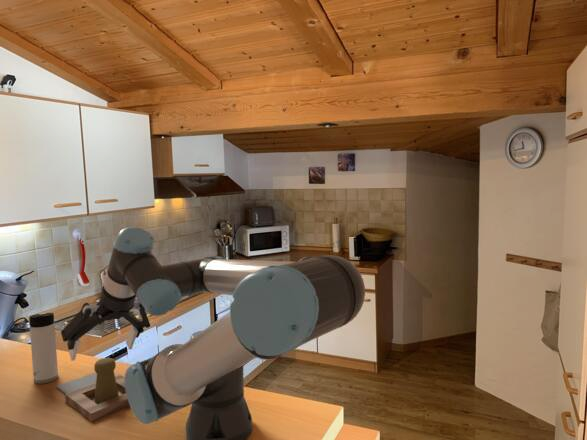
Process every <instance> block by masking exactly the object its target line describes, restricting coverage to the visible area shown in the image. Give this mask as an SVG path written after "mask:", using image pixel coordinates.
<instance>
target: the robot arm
mask: <svg viewBox="0 0 587 440" xmlns="http://www.w3.org/2000/svg"><path fill="white" fill-rule="evenodd" d="M153 249H154V236H153V235H152V234H151V233H150V232H149V231H147V230H146V229H143V228H142V227H141V228H140V227H137V226H136V227H135V226H132V227H125V228H123V229H121V230H120V231H119V233H118V234H117V236H116V239H115V242H114V244H113V248H112V252H111V254H110V255H111V256H110V259H109V264H108V268H107V271H106V274H105V277H104V282H103V285H102V288H101V292H100V295H99V300H98V303H96V304H95V305H94V304H93V305H91V304H90V303H89V302H85V303H83V304H82V306H81V308H80V311H78V313H76V315H75V316H74V317H73V318H72V319H71V320H70V321H69V323H67V325H65V327H64V328H63V329H62V330H60V335H61V338H62V341H63V342H66V345H67V349H68V354H69V356H70V361H75V360H76V357H77V353H78V350H79V346H80V344H81V343H80V342H81V340H80V339H81V338H82V337H83V336H85V335H86V334H87V333H89V332H90V331H92V329H93V328H95V327H96V326H98V325H102V324H103V323H104V322H105V321H107V322H108V321H111V320H120V319H121V318H123V319H125V320H126V321H127V322H129V323H130V324H131V326H130V327H129V330H128V334H127V336H126V339H125V344H126V346H127V349H128V350H132V349H133V347H134V344H135V341H136V339H137V338H139V337H140V334H141V333H142V334H143V333H144V331H145V330H144V328H150V327H151V323H150V320H149V318H148V315H147V313H148V314H150V316H151V315H152V316H155V317H159V316H163V315H166V314H167V313H168V312H169V311H173V310H174V309H175V308H176V307H177V306H178V305H179V303H180V301H181V298H182V299H183V298H184V297H188V296H192V295H197V294H202V293H207V294H208V293H209V294H218V295H225V296H232V298H233V300H232V301H231V303H230V308H229V312H227V313H226V314H224V315H223V316H222V317H220V318H219V319H217V320H216V321H215V322H213V323H212V324H211V325H209V326H207V327H206V328H205V329H203V330H198V331H196V332H193V333H192V334H191V335H190V339H189V340H188V341H187V342H185V343H184V344H183V343H182V344H181V343H175V344H171V345H169V346H166V347H164V348H163V349H162V350H161V351H159V352H158V353H156V354H155V355H154V356H152V357H149V358H148V359H145V360H142V361H137V362H136V363H133V364H131V365H129V366H128V367H127V369H125V370H126V371H125V374H124V377H125V389H126V394H127V398H128V402H129V404H130V405H129V406H130V409H131V411H132V413H133V415H134V416H135V418H136V419H137V420H138V422H140V423H142V424H143V425H149V424H151V423H154V422H158V421H159V420H161V419H162V418H165V417H167V416H170V415H171V414H173V413H175V412H177V411H180V410H182V409H185V408H186V407H188V406H190V405H191V406H190V410H189V414H188V418H187V419H186V422H185V438H186V440H247V439H249V437H250V435H252V432H253V417H252V415H251V412H250V409H249V406H248V403H247V401H246V398H245V393H244V392H245V387H244V383H245V381H244V365H246V364H248V363H249V362H251V361H253V360H256V359H260V360H265V361H267V360H268V361H271V360H274V359H278V358H280V357H282V356H284V355H285V354H288V353H290V352H292V351H294V350H296V349H297V348H299V347H302V346H303V345H305V344H307V343H309V342H311V341H313V340H316V339H317V338H320V337H321V336H324V335H326V334H328V333H331V332H333V331H335V330H338V329H339V328H342V327H343V326H346V325H348V324H349V323H351V321H353V320H354V319H355V318H356V317H357V316H358V315H359V313H360V311H361V310H362V307H363V305H364V302H365V297H366V289H365V288H366V287H365V281H364V279H363V277H362V273H360V271H359V269H358V268H357V267H356V265H354V264H353V262H351V261H350V260H348V259H346V258H344V257H341V256H338V255H334V254H330V255H329V254H328V255H327V254H326V255H319V256H304V257H302V258H301V259H299V260H298V261H284V260H283V261H280V260H279V261H277V260H251V259H248V260H247V259H225V258H224V257H222V256H217V255H216V256H205V257H203V258H198V259H194V260H193V259H192V260H188V261H181V262H176V263H170V264H165V265H162V264H161V263H160V261H158V259H157V258H156V257H155V255H154V254H153V253H152V250H153ZM134 307H135V308H136V309H137V310H138V312H139V315H140V318H141V320H139V318H138V317H136V316H135V314H133V312H131V310H132V309H134ZM146 312H147V313H146Z"/></svg>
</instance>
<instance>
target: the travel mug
mask: <svg viewBox="0 0 587 440" xmlns="http://www.w3.org/2000/svg"><path fill="white" fill-rule="evenodd" d="M28 319H29V334H30V335H29V336H30V348H31V360H32V361H31V362H32V376H33V377H32V378H33V382H34V383H35V384H38V385H43V384H49V383H51V382H53V381H55V380H56V379H58V377H59V372H58V371H59V369H58V356H57V355H58V354H57V353H58V352H57V341H56V337H57V336H56V326H55V313H54V312H46V313H41V314H40V313H38V314H37V313H36V314H32V315H29V318H28Z"/></svg>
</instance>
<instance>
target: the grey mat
mask: <svg viewBox="0 0 587 440" xmlns="http://www.w3.org/2000/svg"><path fill="white" fill-rule="evenodd" d="M96 378H97V373H96V372H95V371H94V372H92V373H90V374H87V375H83V376H80V377H78V378H75V379H72V380H69V381H67V382H63V383H61V384H58V385H56V388H57V389H58V390H59V391H60V392H62V393H63V394H64V395H65V394H67V393H70V392H72V391H75V390H78V389H81V388H84V387H86V386H89V385H92V384H95V383H96Z"/></svg>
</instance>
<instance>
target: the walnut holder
mask: <svg viewBox="0 0 587 440" xmlns="http://www.w3.org/2000/svg"><path fill="white" fill-rule="evenodd" d="M115 380H116V385H117V390H118V392H121V393H122V394H121V395H119V396H118V397H115V398H113V399H110V400H108V401H105V402H103V403H100V404H98V405H97V404H96V403H95V402H94V401H93V400H92V399H91V398H92V397H95V390H96V383H95V384H92V385H89V386H86V387H84V388H81V389H78V390H75V391H72V392H70V393H67V394H64V395H65V402H66V403H67V404H68V405H70V406H71V407H72V408H74V409H75V410H76V411H77V412H79V413H80V414H81V415H82V416H83V417H84V418H86V419H88V420H89V421H90V422H94V421H96V420H98V419H101V418H103V417H106V416H107V415H110V414H113V413H114V412H118V411H119V410H121V409H122V410H123V409H125V408H126V407H129V406H130V404H129V402H128V398H127V394H126V389H125V376H123V375H122V374H117V375H115Z"/></svg>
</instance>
